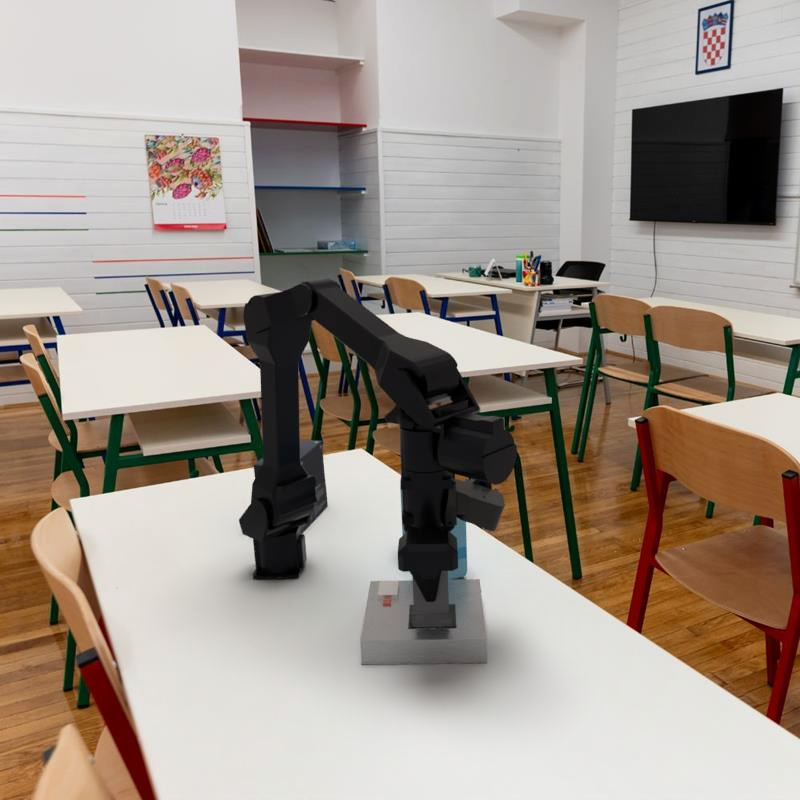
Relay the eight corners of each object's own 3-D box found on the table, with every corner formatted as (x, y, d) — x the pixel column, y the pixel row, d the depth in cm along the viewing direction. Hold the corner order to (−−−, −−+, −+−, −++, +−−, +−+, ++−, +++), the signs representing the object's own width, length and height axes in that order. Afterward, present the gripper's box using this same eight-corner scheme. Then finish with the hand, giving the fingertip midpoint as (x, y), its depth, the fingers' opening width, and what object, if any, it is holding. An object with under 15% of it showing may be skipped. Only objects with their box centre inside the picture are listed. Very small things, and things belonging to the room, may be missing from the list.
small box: (291, 503, 136) (286, 438, 133) (328, 506, 134) (324, 439, 131) (258, 534, 123) (252, 463, 120) (298, 537, 121) (292, 465, 118)
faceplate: (361, 664, 87) (360, 635, 86) (371, 602, 101) (370, 576, 100) (487, 662, 86) (486, 633, 85) (480, 600, 100) (479, 574, 99)
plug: (410, 614, 88) (407, 549, 86) (411, 593, 93) (408, 531, 91) (452, 613, 88) (450, 548, 86) (451, 593, 93) (450, 531, 91)
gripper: (506, 493, 77) (508, 634, 80) (493, 437, 95) (494, 555, 99) (394, 496, 77) (400, 635, 81) (402, 440, 95) (407, 556, 99)
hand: (430, 591), depth 90 cm, fingers closed on plug, 4 cm apart
